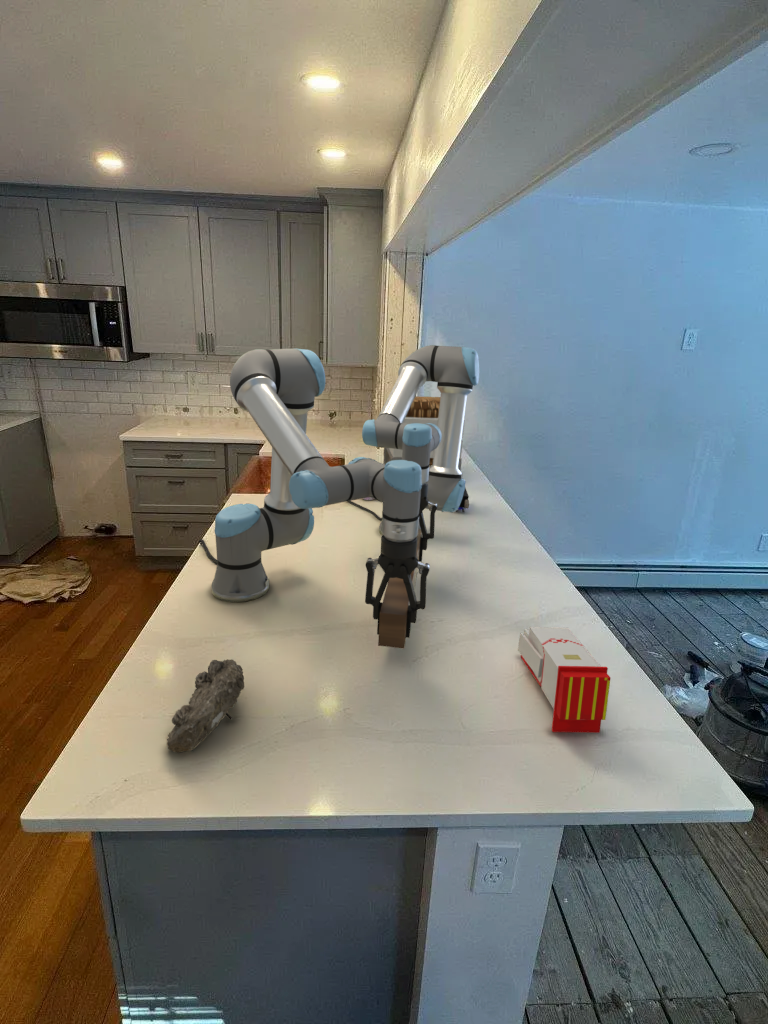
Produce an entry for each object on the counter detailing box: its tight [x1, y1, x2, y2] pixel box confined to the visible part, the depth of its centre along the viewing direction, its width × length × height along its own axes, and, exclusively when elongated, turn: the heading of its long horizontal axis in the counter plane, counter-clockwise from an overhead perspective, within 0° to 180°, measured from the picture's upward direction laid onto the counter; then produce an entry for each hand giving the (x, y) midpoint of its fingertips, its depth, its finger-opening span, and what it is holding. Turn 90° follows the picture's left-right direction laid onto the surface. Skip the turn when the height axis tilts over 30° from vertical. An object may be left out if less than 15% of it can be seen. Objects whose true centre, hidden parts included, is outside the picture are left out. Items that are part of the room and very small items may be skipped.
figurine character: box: [455, 487, 470, 513], centre depth 227 cm, size 7×8×15 cm
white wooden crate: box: [382, 395, 465, 472], centre depth 268 cm, size 34×33×41 cm
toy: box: [517, 626, 611, 734], centre depth 119 cm, size 12×13×30 cm
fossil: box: [166, 658, 245, 754], centre depth 106 cm, size 22×10×15 cm
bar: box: [377, 529, 423, 650], centre depth 142 cm, size 50×6×8 cm, turn 173°
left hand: (393, 632), depth 125 cm, fingers closed on bar, 6 cm apart
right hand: (409, 558), depth 162 cm, fingers closed on bar, 6 cm apart
